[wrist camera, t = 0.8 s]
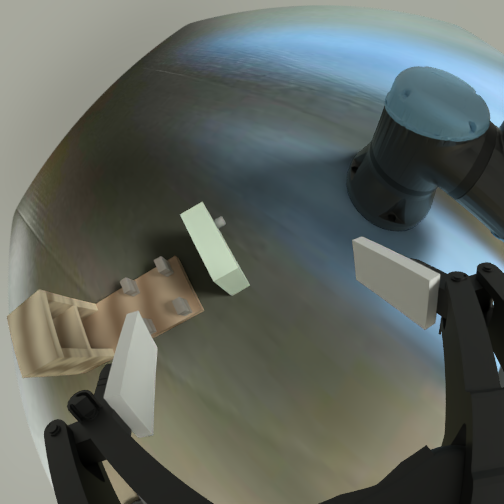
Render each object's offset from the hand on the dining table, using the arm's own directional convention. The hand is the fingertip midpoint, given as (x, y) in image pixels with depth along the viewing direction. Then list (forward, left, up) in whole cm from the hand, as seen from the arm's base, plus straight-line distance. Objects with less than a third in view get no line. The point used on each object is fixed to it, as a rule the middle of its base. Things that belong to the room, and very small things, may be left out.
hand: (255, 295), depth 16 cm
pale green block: (+2, -10, -24) cm, 26 cm away
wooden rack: (+20, -10, -24) cm, 33 cm away
